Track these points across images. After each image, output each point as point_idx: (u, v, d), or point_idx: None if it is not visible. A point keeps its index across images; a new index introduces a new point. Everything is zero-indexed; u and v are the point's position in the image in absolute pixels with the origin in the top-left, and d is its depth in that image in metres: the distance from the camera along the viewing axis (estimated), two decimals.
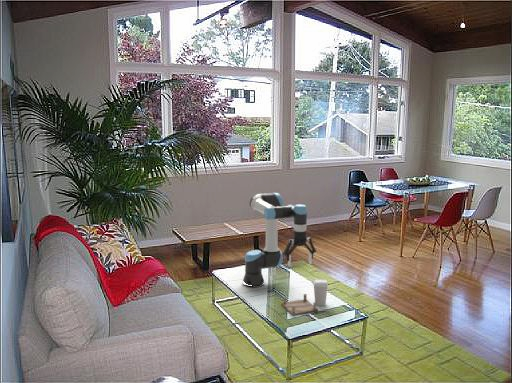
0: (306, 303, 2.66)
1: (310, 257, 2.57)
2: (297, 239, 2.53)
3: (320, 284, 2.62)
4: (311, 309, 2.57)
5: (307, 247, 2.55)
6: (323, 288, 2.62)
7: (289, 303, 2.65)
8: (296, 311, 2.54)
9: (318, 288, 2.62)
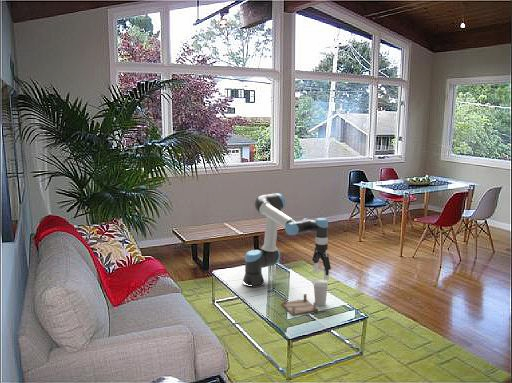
0: (306, 303, 2.66)
1: (324, 273, 2.58)
2: (318, 250, 2.64)
3: (320, 284, 2.62)
4: (311, 309, 2.57)
5: (322, 261, 2.59)
6: (323, 288, 2.62)
7: (289, 303, 2.65)
8: (296, 311, 2.54)
9: (318, 288, 2.62)
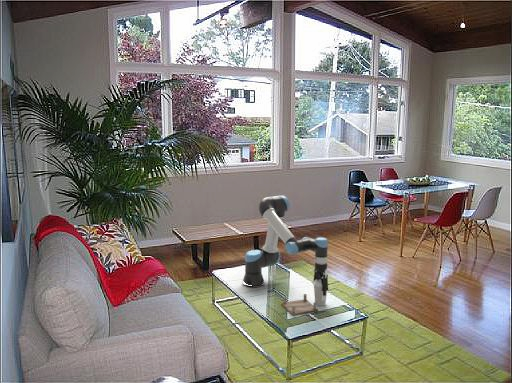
0: (306, 303, 2.66)
1: None
2: None
3: (320, 284, 2.62)
4: (311, 309, 2.57)
5: (321, 281, 2.62)
6: None
7: (289, 303, 2.65)
8: (296, 311, 2.54)
9: (318, 288, 2.62)
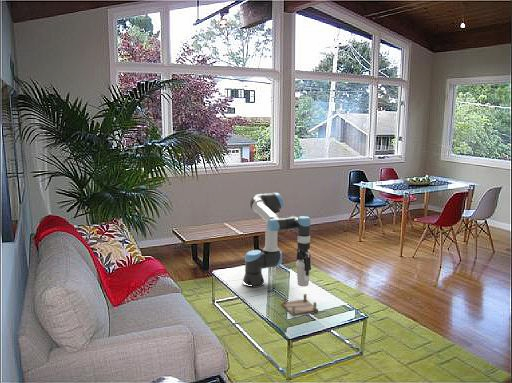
0: (306, 303, 2.66)
1: (304, 273, 2.55)
2: (300, 248, 2.59)
3: (303, 264, 2.54)
4: (311, 309, 2.57)
5: (304, 261, 2.55)
6: None
7: (289, 303, 2.65)
8: (296, 311, 2.54)
9: (301, 268, 2.55)
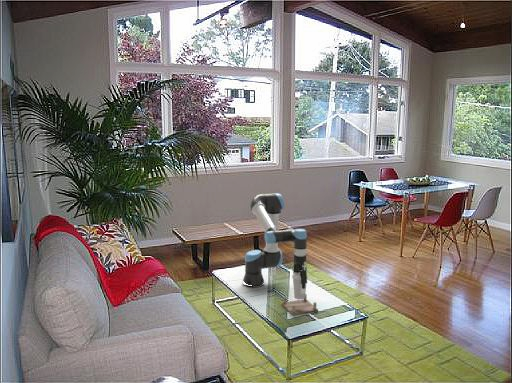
0: (306, 303, 2.66)
1: None
2: None
3: (299, 277, 2.54)
4: (311, 309, 2.57)
5: (300, 274, 2.55)
6: None
7: (289, 303, 2.65)
8: (296, 311, 2.54)
9: (297, 281, 2.55)
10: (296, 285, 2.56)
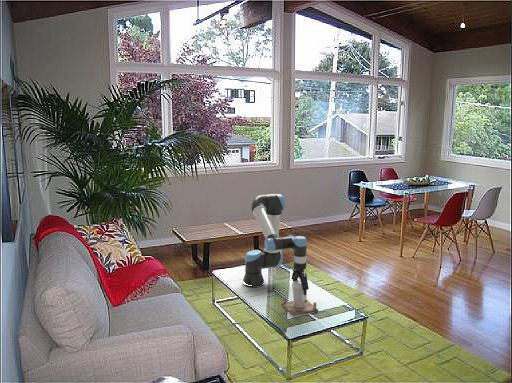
0: (306, 303, 2.66)
1: (302, 292, 2.54)
2: (296, 269, 2.60)
3: (298, 285, 2.56)
4: (311, 309, 2.57)
5: (301, 281, 2.54)
6: (301, 290, 2.56)
7: (289, 303, 2.65)
8: (296, 311, 2.54)
9: (296, 290, 2.56)
10: (296, 294, 2.57)
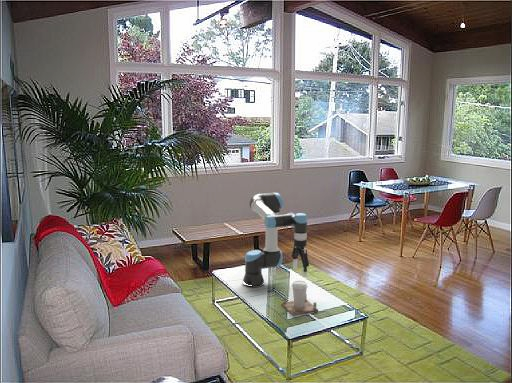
0: (306, 303, 2.66)
1: (302, 269, 2.51)
2: (297, 246, 2.58)
3: (299, 286, 2.55)
4: (311, 309, 2.57)
5: (301, 258, 2.52)
6: (302, 290, 2.56)
7: (289, 303, 2.65)
8: (296, 311, 2.54)
9: (297, 290, 2.56)
10: (296, 294, 2.57)
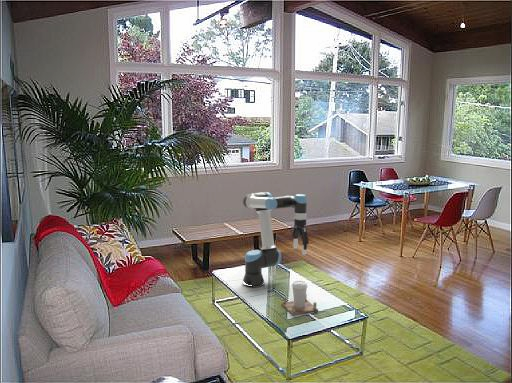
0: (306, 303, 2.66)
1: (302, 247, 2.64)
2: (297, 226, 2.71)
3: (299, 286, 2.55)
4: (311, 309, 2.57)
5: (301, 236, 2.65)
6: (302, 290, 2.56)
7: (289, 303, 2.65)
8: (296, 311, 2.54)
9: (297, 290, 2.56)
10: (296, 294, 2.57)
